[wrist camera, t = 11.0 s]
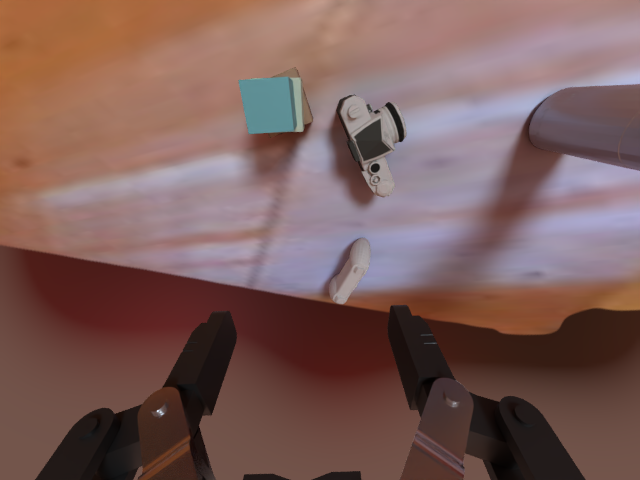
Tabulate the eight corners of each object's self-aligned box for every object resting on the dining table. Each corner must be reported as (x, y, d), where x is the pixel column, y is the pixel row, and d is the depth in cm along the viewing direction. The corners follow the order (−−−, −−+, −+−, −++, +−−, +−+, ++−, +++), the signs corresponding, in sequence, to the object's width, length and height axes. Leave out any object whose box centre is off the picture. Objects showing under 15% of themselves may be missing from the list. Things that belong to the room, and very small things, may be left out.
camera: (409, 169, 45) (431, 186, 36) (365, 190, 47) (376, 210, 38) (379, 77, 38) (398, 70, 29) (329, 106, 40) (333, 107, 31)
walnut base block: (297, 70, 37) (295, 67, 33) (313, 118, 41) (312, 121, 36) (256, 88, 38) (248, 86, 34) (274, 133, 42) (270, 137, 37)
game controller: (340, 284, 58) (344, 316, 50) (324, 278, 57) (325, 310, 49) (371, 236, 52) (382, 264, 43) (353, 229, 51) (361, 255, 42)
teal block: (292, 80, 30) (288, 76, 24) (297, 125, 32) (293, 131, 27) (251, 83, 30) (238, 80, 24) (259, 128, 32) (248, 134, 27)
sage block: (302, 80, 34) (300, 77, 29) (304, 127, 37) (302, 131, 32) (258, 81, 34) (250, 78, 29) (264, 128, 37) (257, 132, 32)
